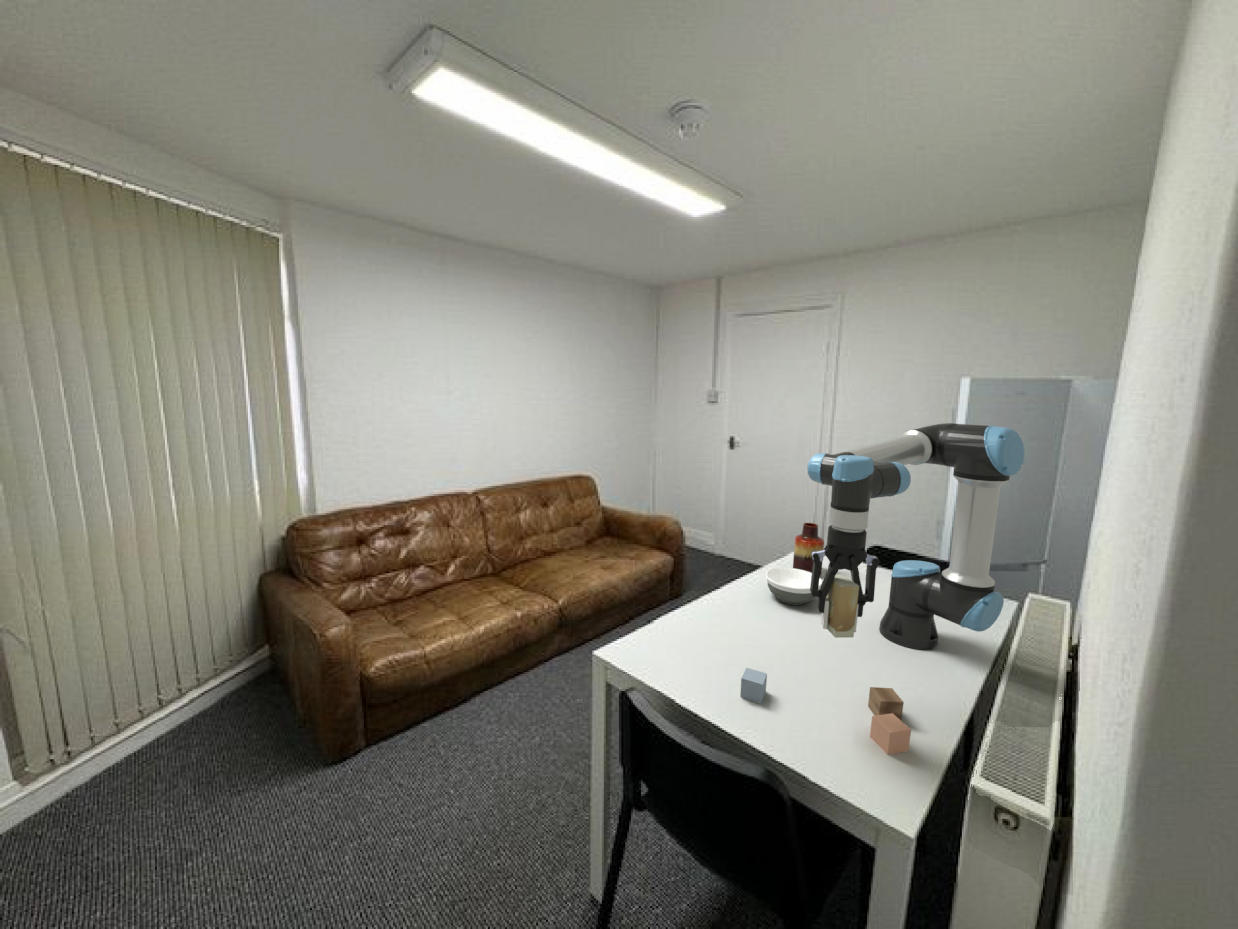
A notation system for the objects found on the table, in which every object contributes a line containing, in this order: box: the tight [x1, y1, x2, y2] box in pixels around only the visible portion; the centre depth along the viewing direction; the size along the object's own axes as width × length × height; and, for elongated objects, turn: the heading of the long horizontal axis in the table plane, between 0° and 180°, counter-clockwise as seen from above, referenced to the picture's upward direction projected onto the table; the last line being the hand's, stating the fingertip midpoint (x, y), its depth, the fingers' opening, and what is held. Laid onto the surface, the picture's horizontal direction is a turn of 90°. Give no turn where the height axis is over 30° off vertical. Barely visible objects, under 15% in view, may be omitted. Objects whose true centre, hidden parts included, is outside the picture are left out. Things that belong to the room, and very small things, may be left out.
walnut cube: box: [867, 686, 904, 721], centre depth 108 cm, size 5×5×5 cm
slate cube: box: [740, 667, 768, 705], centre depth 115 cm, size 5×5×5 cm
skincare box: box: [826, 574, 859, 639], centre depth 105 cm, size 6×4×12 cm
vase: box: [792, 522, 825, 577], centre depth 190 cm, size 11×11×20 cm
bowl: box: [765, 567, 823, 606], centre depth 167 cm, size 19×19×8 cm
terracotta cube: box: [869, 713, 912, 755], centre depth 99 cm, size 5×5×5 cm
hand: (838, 627), depth 106 cm, fingers closed on skincare box, 5 cm apart
